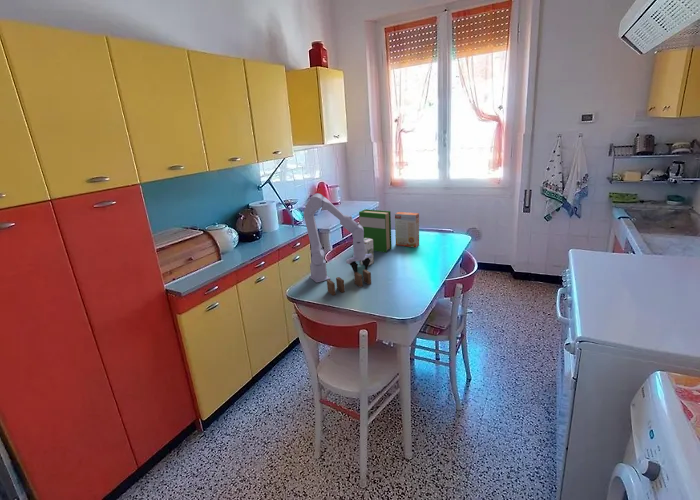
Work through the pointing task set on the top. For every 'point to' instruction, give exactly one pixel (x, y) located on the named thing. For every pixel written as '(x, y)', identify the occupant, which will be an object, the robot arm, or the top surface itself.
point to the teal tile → (361, 269)
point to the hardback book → (377, 228)
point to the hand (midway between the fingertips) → (360, 273)
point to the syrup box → (368, 249)
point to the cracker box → (407, 229)
